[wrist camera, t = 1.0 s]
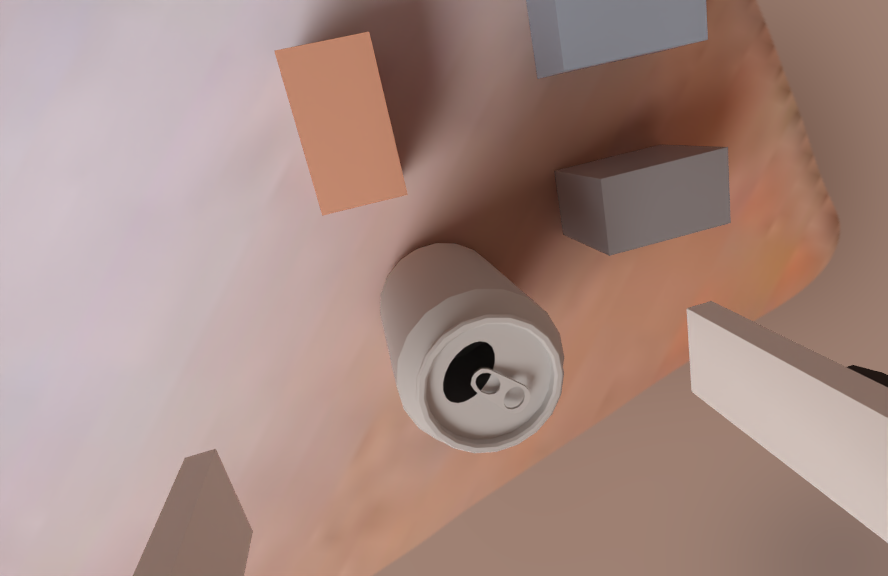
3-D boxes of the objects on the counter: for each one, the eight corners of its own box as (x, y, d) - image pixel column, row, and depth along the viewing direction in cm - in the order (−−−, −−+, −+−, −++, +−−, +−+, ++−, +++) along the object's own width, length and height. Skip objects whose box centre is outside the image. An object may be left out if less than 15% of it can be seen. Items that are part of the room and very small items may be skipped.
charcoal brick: (562, 234, 33) (609, 255, 27) (553, 170, 31) (600, 179, 26) (664, 207, 34) (730, 222, 28) (659, 144, 32) (727, 147, 27)
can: (416, 217, 31) (462, 267, 19) (519, 274, 33) (614, 349, 22) (356, 325, 32) (366, 431, 20) (459, 373, 34) (519, 493, 23)
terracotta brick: (287, 67, 27) (274, 50, 22) (363, 52, 28) (369, 31, 22) (325, 199, 29) (322, 215, 24) (394, 182, 30) (407, 194, 24)
